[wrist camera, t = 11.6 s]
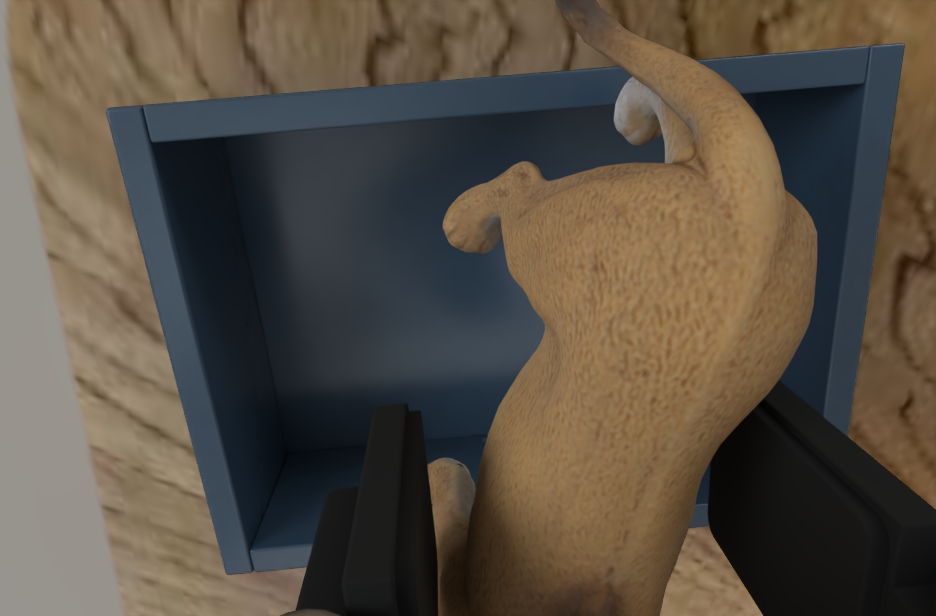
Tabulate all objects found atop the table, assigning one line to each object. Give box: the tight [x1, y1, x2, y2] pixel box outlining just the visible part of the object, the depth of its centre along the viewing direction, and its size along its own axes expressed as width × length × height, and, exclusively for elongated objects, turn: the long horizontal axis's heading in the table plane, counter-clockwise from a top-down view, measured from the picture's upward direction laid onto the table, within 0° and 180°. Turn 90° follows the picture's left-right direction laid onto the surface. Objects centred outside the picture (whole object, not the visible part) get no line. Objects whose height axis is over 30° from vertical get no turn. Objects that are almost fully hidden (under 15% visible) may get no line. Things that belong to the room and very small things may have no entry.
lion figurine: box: [427, 0, 817, 616], centre depth 9 cm, size 15×5×9 cm, turn 179°
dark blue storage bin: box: [106, 43, 905, 575], centre depth 18 cm, size 18×13×6 cm
